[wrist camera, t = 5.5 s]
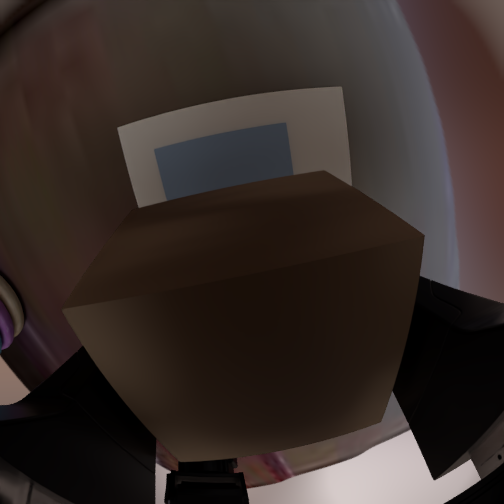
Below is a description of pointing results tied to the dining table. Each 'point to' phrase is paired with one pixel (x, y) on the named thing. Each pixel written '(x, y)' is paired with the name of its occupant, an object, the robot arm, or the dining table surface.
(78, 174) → the dining table surface
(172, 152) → the build board
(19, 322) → the stacking toy
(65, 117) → the dining table surface
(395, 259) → the walnut block
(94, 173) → the dining table surface
